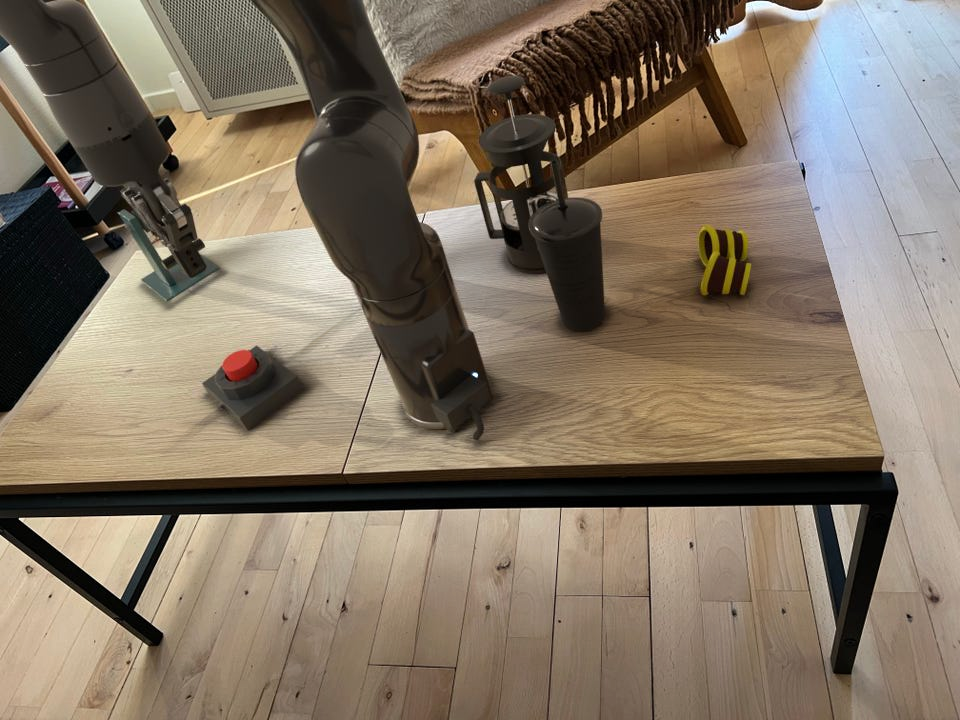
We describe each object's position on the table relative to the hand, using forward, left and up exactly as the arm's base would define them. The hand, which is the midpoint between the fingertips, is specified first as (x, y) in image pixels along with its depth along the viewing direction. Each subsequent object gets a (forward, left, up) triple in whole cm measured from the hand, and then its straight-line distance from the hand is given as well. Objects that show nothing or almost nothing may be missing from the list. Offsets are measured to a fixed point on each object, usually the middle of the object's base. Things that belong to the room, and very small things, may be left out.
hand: (196, 272), depth 84 cm
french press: (-12, -37, -17) cm, 42 cm away
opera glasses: (-35, -44, -17) cm, 59 cm away
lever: (+29, -5, -8) cm, 30 cm away
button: (-1, +1, -13) cm, 13 cm away
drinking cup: (-26, -30, -17) cm, 43 cm away
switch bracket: (+33, -5, -17) cm, 37 cm away
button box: (-1, +1, -17) cm, 17 cm away
